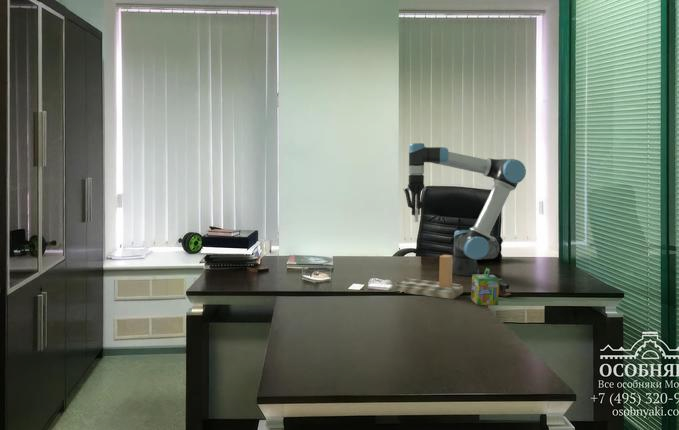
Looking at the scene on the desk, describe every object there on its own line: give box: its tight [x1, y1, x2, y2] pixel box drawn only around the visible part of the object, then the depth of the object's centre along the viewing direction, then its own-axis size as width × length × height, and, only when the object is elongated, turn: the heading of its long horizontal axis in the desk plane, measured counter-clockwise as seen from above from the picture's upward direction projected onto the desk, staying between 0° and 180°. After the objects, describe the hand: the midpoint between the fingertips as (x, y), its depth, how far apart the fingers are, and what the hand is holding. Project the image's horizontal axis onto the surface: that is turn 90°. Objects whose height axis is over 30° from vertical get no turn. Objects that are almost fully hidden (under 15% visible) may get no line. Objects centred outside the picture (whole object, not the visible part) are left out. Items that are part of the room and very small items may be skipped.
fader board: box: [394, 278, 464, 300], centre depth 265 cm, size 28×13×4 cm, turn 61°
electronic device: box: [498, 278, 512, 298], centre depth 259 cm, size 4×10×8 cm, turn 42°
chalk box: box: [470, 267, 500, 306], centre depth 245 cm, size 9×9×15 cm
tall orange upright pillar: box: [438, 254, 453, 288], centre depth 260 cm, size 4×6×14 cm, turn 151°
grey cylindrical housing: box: [450, 234, 504, 262], centre depth 346 cm, size 15×28×15 cm, turn 114°
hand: (415, 221), depth 290 cm, fingers closed
